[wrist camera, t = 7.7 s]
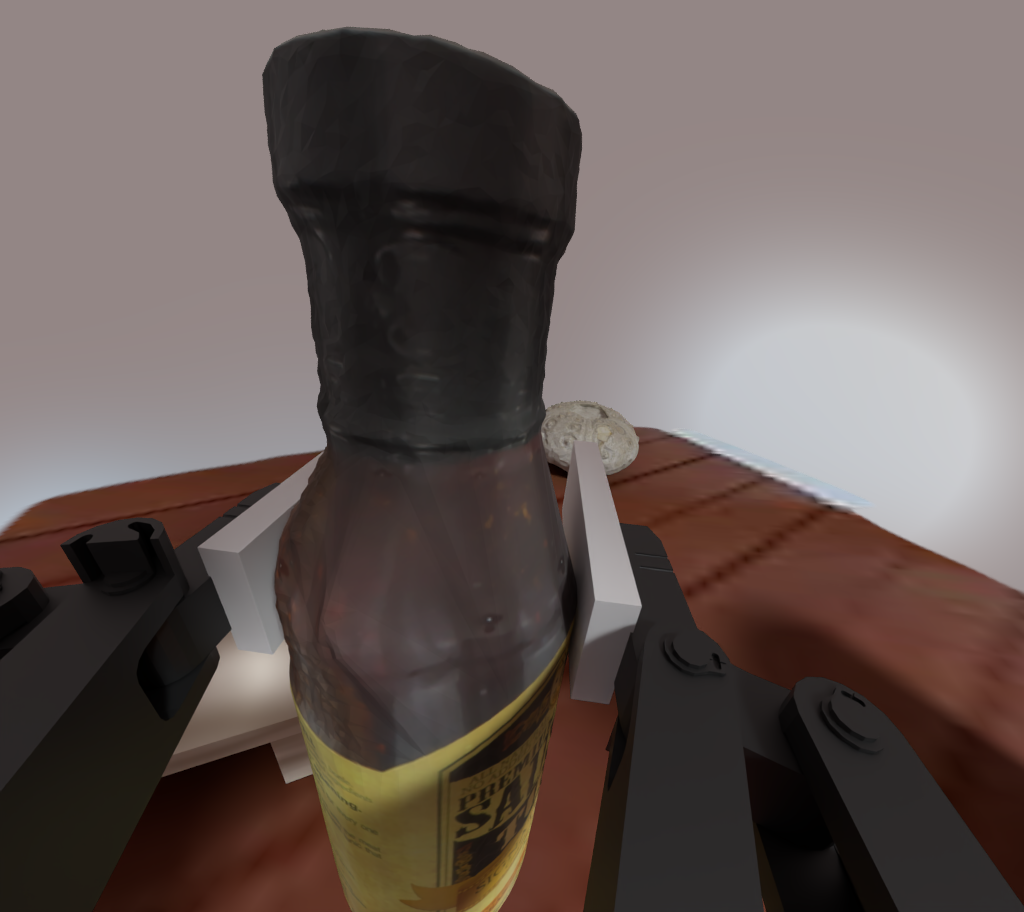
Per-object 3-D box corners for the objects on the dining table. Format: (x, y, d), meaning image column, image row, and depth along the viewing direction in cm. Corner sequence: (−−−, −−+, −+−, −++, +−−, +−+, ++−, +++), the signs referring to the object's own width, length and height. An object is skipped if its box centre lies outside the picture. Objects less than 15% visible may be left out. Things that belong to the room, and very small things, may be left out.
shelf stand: (320, 771, 22) (303, 714, 19) (-14, 891, 17) (-98, 837, 14) (330, 596, 34) (321, 545, 31) (133, 637, 29) (101, 580, 26)
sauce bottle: (488, 1030, 10) (875, -630, 1) (299, 909, 11) (-267, -112, 2) (545, 756, 15) (673, 169, 6) (415, 701, 17) (373, 168, 8)
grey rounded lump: (653, 478, 61) (671, 422, 56) (570, 501, 52) (583, 437, 48) (584, 436, 74) (593, 389, 70) (508, 450, 65) (513, 396, 61)
